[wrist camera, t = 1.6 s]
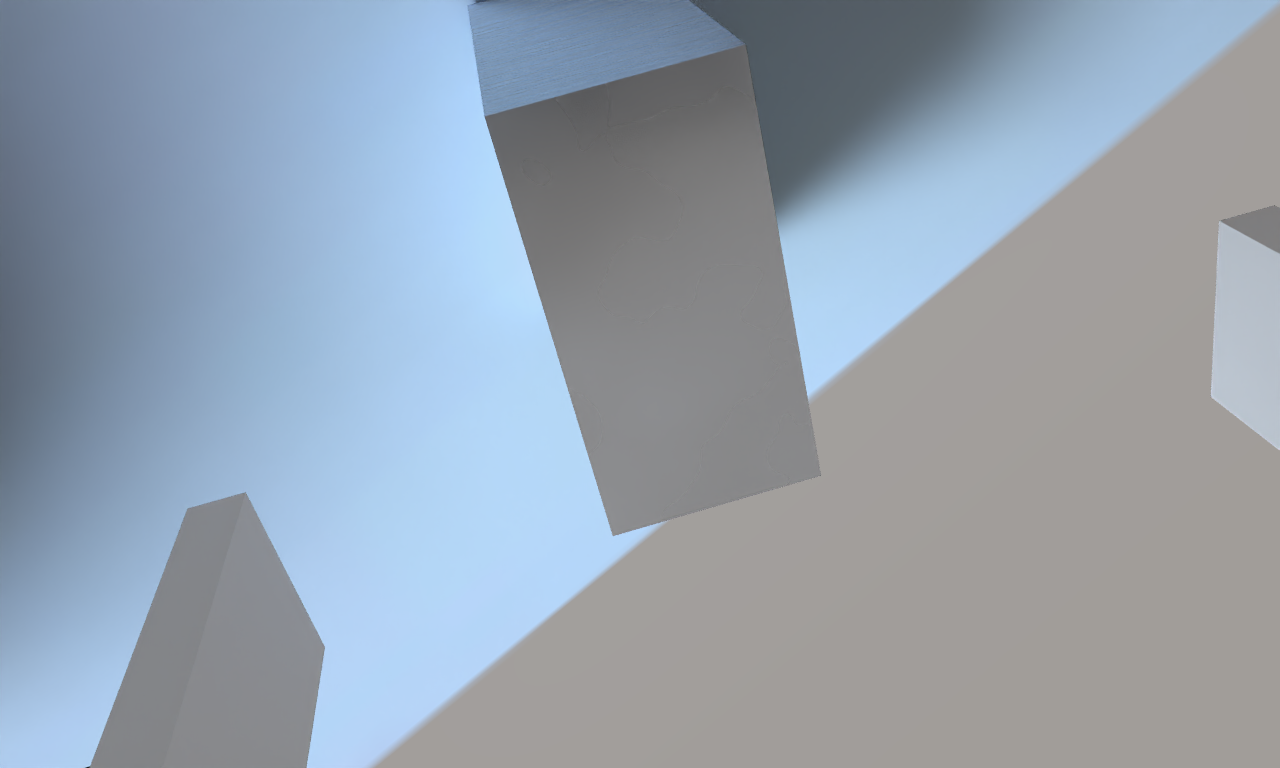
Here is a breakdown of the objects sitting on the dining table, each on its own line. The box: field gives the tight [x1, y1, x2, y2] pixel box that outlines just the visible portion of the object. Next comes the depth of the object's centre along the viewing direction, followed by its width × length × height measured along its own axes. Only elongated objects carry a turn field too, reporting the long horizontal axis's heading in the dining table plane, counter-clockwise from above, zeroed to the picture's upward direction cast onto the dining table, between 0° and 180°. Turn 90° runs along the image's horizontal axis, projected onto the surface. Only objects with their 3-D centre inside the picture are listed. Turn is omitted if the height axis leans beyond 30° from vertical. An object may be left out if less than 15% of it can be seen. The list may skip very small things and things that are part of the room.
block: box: [468, 0, 821, 536], centre depth 22 cm, size 4×8×10 cm, turn 13°
